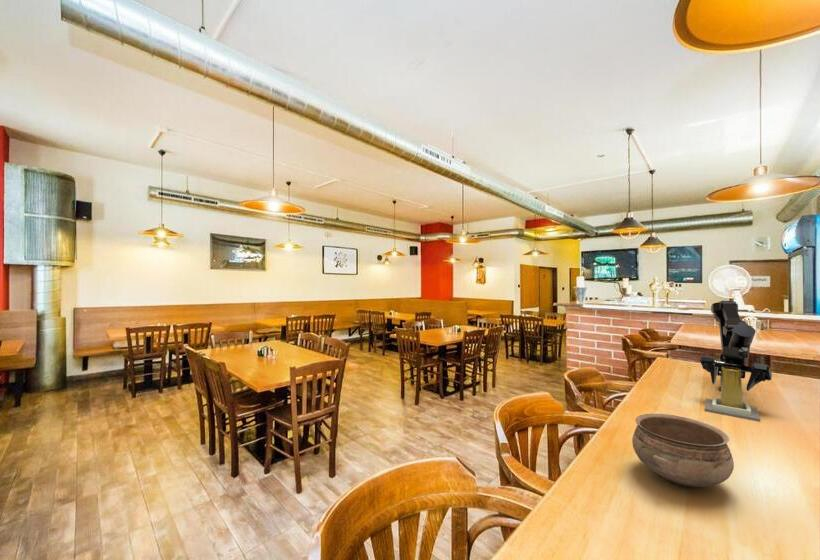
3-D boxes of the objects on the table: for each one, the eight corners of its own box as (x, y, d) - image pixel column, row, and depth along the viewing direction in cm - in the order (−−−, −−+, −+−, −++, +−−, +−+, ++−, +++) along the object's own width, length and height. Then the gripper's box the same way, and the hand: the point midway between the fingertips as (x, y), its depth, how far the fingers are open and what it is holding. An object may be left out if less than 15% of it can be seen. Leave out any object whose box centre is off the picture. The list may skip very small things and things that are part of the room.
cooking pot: (654, 448, 98) (654, 404, 98) (747, 479, 82) (746, 428, 82) (612, 478, 83) (612, 427, 83) (715, 523, 68) (715, 460, 68)
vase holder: (706, 400, 135) (706, 394, 135) (756, 409, 126) (756, 403, 126) (704, 411, 125) (704, 404, 125) (760, 421, 115) (760, 414, 115)
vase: (733, 405, 128) (733, 366, 128) (748, 411, 122) (747, 370, 122) (715, 404, 129) (715, 366, 129) (729, 410, 122) (728, 370, 122)
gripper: (701, 335, 135) (691, 367, 129) (770, 342, 120) (762, 379, 113) (708, 352, 140) (699, 385, 133) (774, 361, 124) (768, 398, 118)
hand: (729, 386), depth 124 cm, fingers open, 9 cm apart
